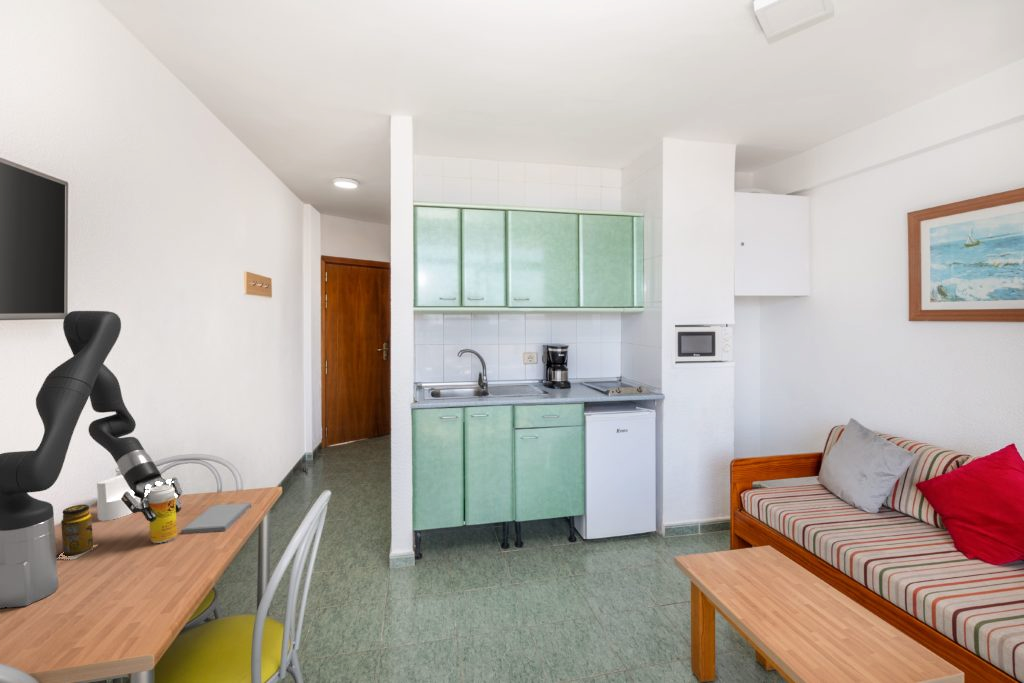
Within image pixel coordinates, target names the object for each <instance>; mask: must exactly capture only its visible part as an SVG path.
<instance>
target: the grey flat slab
mask: <svg viewBox="0 0 1024 683" xmlns="http://www.w3.org/2000/svg"><path fill="white" fill-rule="evenodd" d="M251 507H252V502H248V503H247V502H244V503H232V504H230V503H228V504H217V505H216V504H214V505H211V506H210V507H209V508H207V509H206V510H204V512H202V513H201V514H200V515H199V516H197V517H196V518H195V519H193V520H192V521H191V522H189V523H188V524H187V525H186V526H184V527H183V528H182V529H181V530H180V531H181V533H180V534H181V535H183V534H185V533H187V534H199V533H201V534H202V533H212V532H213V533H215V532H214V531H216V532H225V531H226V532H227V530H229V528H230V527H231V526H232V525H234V524H235V523H236V522H237V520H238V518H239V517H240V516H241V515H242V514H243V513H244V512H245V511H246V510H247V509H248V510H249V509H251ZM248 510H247V511H248ZM247 511H246V512H247ZM246 512H245V513H246ZM245 513H244V514H245ZM244 514H243V515H244ZM243 515H242V516H243ZM242 516H241V517H242ZM241 517H240V518H241ZM240 518H239V519H240ZM185 535H186V534H185Z"/></svg>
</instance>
